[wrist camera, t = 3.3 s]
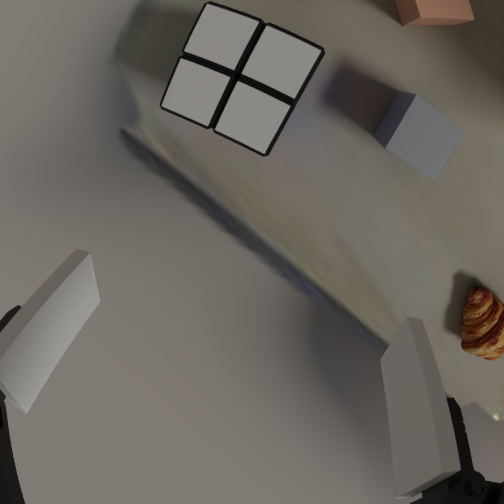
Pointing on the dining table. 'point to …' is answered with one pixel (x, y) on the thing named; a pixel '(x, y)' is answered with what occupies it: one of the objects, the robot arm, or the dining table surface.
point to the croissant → (483, 324)
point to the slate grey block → (418, 134)
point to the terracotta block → (434, 12)
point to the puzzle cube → (240, 76)
